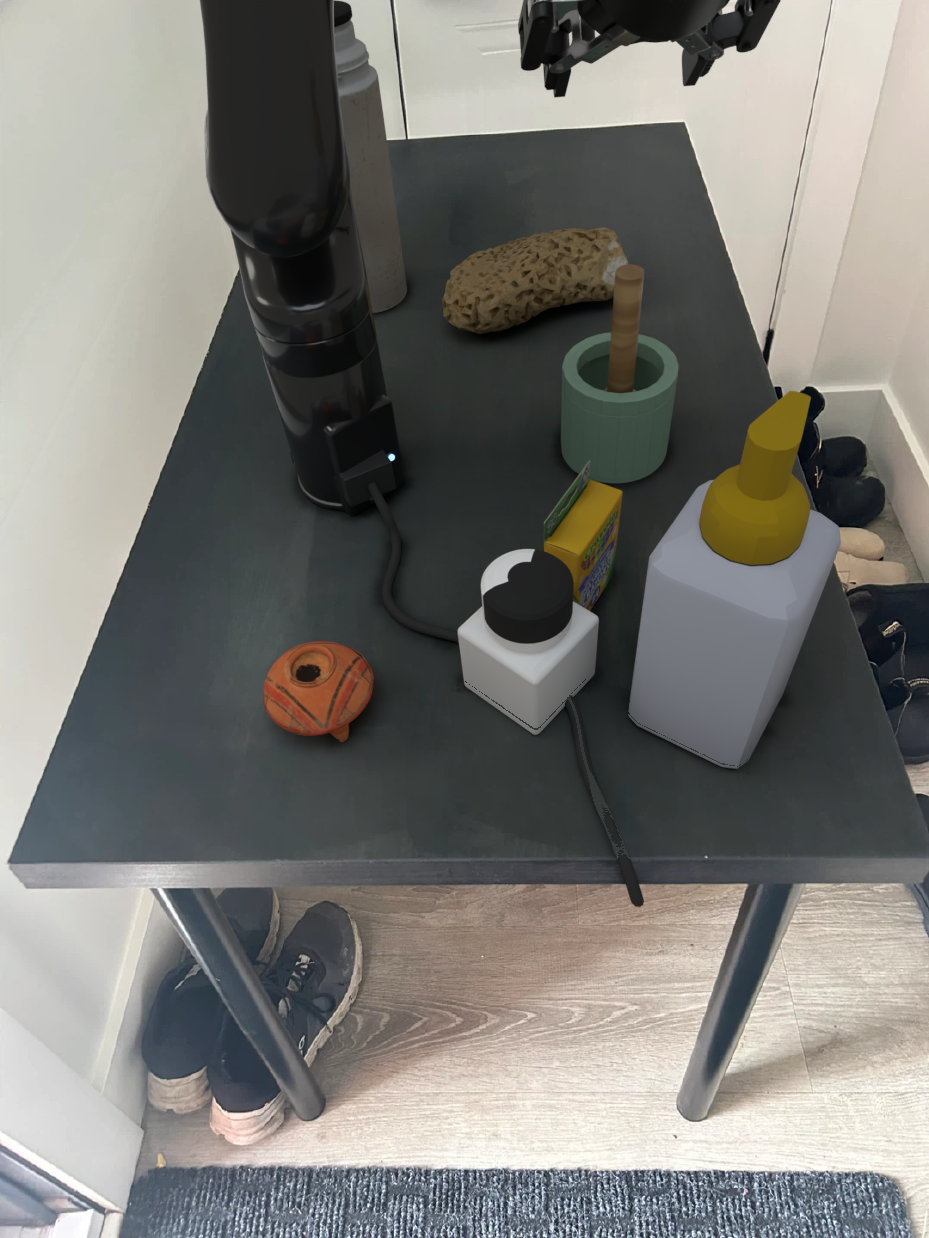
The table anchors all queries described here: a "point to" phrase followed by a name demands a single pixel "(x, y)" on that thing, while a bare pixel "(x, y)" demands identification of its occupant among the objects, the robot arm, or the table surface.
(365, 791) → the table surface
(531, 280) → the sponge
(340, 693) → the pot
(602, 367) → the jar
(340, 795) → the table surface
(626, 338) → the wooden peg on base
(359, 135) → the thermos bottle
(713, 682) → the soap bottle
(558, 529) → the crayon box
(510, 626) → the medicine bottle
